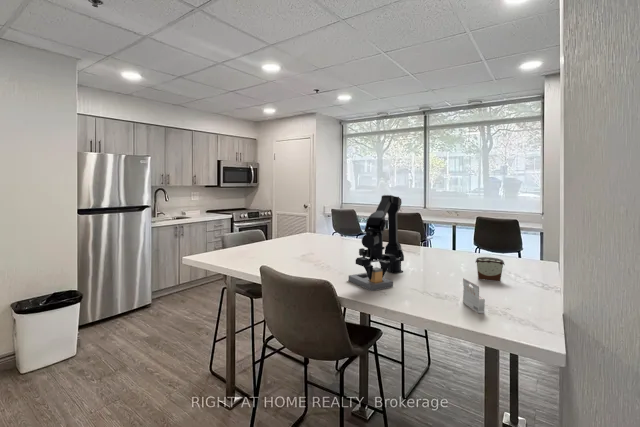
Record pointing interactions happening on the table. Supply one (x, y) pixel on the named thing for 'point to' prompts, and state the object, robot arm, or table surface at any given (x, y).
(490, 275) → the food container
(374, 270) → the plug
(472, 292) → the ink cartridge box
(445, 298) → the table surface
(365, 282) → the socket plate
